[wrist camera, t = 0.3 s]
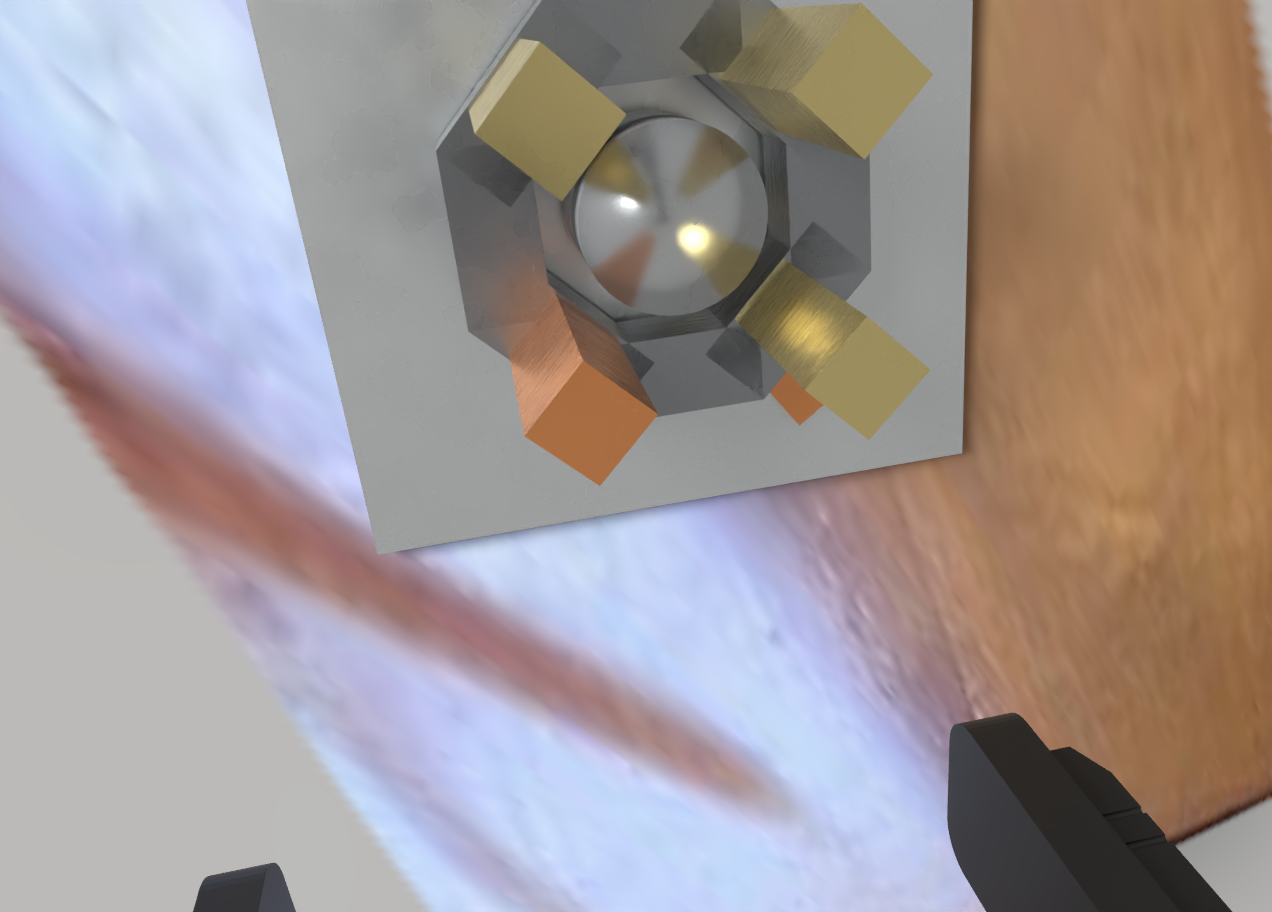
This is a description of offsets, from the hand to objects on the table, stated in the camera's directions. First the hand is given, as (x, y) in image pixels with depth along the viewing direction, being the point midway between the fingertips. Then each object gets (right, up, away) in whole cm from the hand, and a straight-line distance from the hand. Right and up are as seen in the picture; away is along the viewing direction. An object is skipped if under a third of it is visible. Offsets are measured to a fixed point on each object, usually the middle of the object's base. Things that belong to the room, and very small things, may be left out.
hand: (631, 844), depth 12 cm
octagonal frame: (+1, +13, +21) cm, 24 cm away
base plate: (0, +13, +22) cm, 26 cm away
